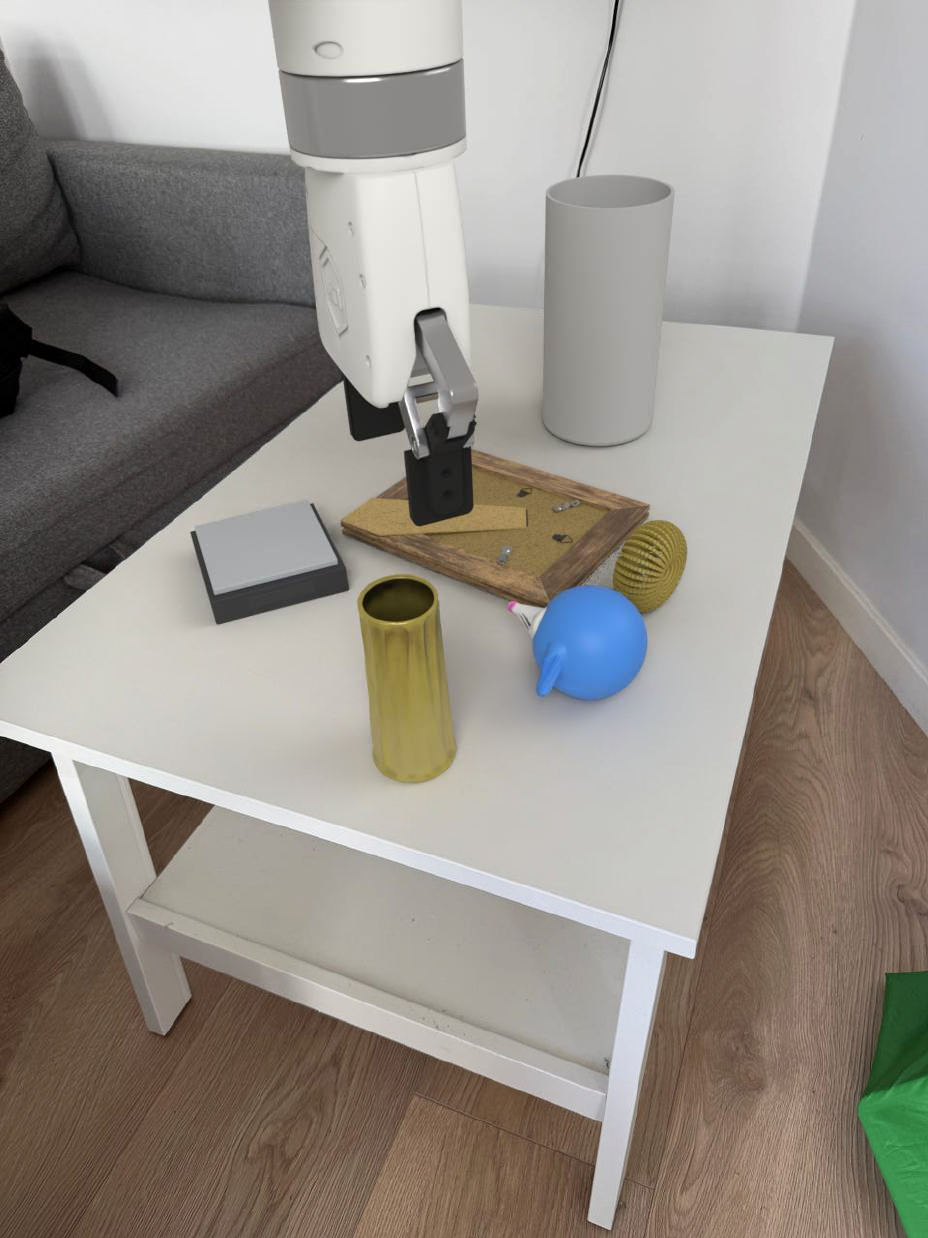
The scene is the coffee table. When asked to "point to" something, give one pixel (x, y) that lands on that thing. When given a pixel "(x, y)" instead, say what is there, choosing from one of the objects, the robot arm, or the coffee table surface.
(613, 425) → the cylinder vase
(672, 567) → the sculpture
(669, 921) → the coffee table surface
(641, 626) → the blue mole toy
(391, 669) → the vase
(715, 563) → the coffee table surface
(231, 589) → the scale
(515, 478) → the picture frame
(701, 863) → the coffee table surface
